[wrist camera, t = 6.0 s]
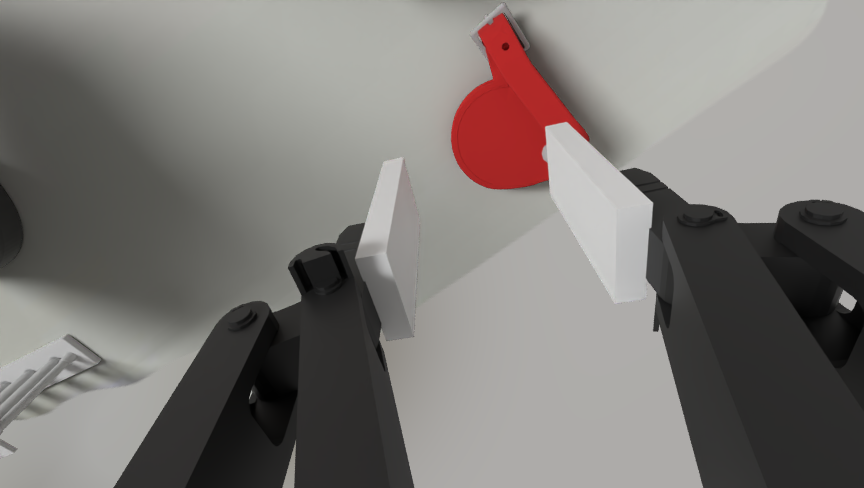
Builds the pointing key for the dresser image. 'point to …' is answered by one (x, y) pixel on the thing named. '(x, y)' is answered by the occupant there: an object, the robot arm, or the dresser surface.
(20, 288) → the dresser surface
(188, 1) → the dresser surface
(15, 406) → the test tube rack
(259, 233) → the dresser surface
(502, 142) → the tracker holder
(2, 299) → the dresser surface
